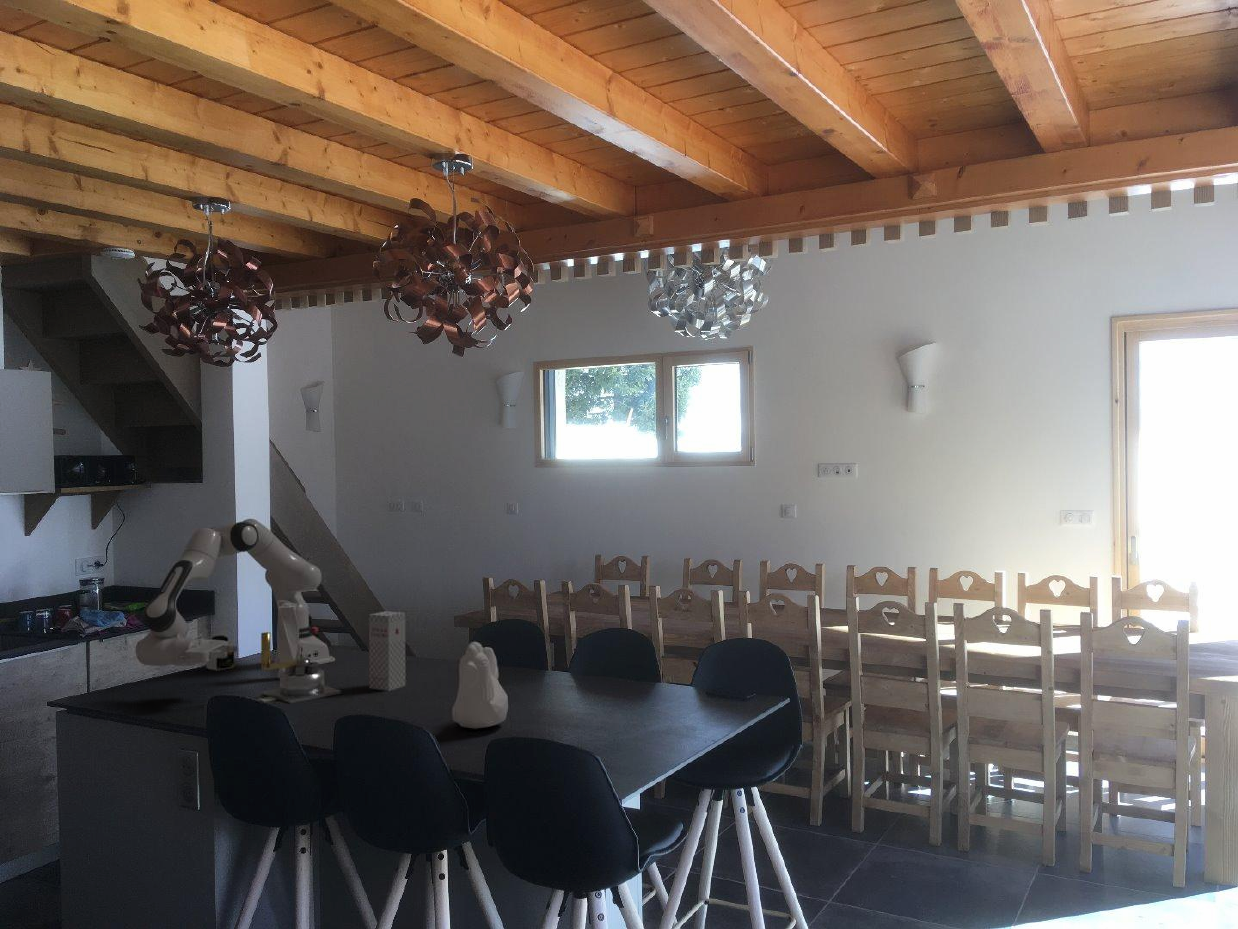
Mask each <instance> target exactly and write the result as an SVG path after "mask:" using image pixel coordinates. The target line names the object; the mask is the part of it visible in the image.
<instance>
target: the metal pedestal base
mask: <svg viewBox="0 0 1238 929" xmlns="http://www.w3.org/2000/svg"><path fill="white" fill-rule="evenodd" d="M262 692H263V695H264V696H266V697H272V698H275V699H276V700H280V701H283V702H284V703H289V704H294V703H298V702H299V703H300V702H304V701H310V700H315V699H320V698H325V697H330V696H331V697H332V696H335V695H340V694H342V691H341V689H338V688H333V687H330V686H327V685H325V670H324V669H320V668H319V670H318V672H316V673H313V674H309V673H305V675H295V673H294V674H291V675H288V674H286V673H285V671H284V672H282V673H280V679H279V688H275V689H269V690H263V691H262Z"/></svg>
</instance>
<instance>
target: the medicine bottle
mask: <svg viewBox="0 0 1238 929" xmlns="http://www.w3.org/2000/svg"><path fill="white" fill-rule="evenodd" d="M211 640H224V641H227V642H228V645H230V637H229V636H227V635H214V636H212V637H211ZM234 668H235V652H227V657H225V658H215V659H212V660H210V661H208V662H206V669H209V670H211V671H215V672H217V671H222V670H223V671H224V670H228V669H234Z"/></svg>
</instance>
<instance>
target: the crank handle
mask: <svg viewBox="0 0 1238 929" xmlns="http://www.w3.org/2000/svg"><path fill="white" fill-rule="evenodd" d="M260 642H261V643H260V644H261V647H260V649H261V650H260V652H261V660H260V661H261V670H262V671H269V670H270V671H271V670H279V668H285V673H286V674H288V675H291V674H294V673H295V675H305V673H309V674H313V673H316V672H318V670H319V669H320V668H319V667H320V666H319V665H320V664H319V663H317V662H310V659H308V658H300V659H295V660H292V661H284V662H277V663H274V662H271V660H272V659H271V654H272V653H271V632H270V631H269V632H261V633H260Z"/></svg>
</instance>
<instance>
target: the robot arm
mask: <svg viewBox="0 0 1238 929" xmlns="http://www.w3.org/2000/svg"><path fill="white" fill-rule="evenodd" d="M245 552H247V553H248V555H250V557H251V558H252V559H253V560H255V562H257V563H258V564H259V566H261V568H263V569H265V572H264V573H265V575H264V578H265V582H266V583H267V585H268V586H269V588H271V590H272V592H273V595H274V599H275V603H276V607H277V608H276V609H277V620H278V619H279V614H280V611H279V607H278V604H277V601H280V600H284V601H288V602H290V603H295V604H297V607H296V610H295V612H296V616H297V620H298V626H299V643H298V650H297V655H296V659H300V654H301V647H302V642H303V654H304V658H308V659H310V662H317V663H319V665H324V664H328V663H332V662H335V661H336V658H335V657H334V656H333V655H330V651H329V648H328V645H327V643H325V642H324V641H322V640H321V639H319V638H318V637H316V636H315V635H314V633H315V634H316V633H318V632H319V628H318V627H316V626H310V624H309V623H310V622H309V620H310V619H309V616H310V615H309V614H310V613H309V611H310V610H309V609H310V608H309V604H308V603H307V602H306V601H305V599H304V598H303V594H302V593H304V592H305V593H306V592H310V591H314V590H316V589H317V588H318V587H319V586H320V584H321V582H322V576H323V575H322V571H321V570H320V568H319V567H318V566H316V565H314V564H312V563H310V562H308V561H307V560H305V559H304V558H303V557H301V556H300V555H299V554H297V553H296V552H294V551H292V550H291V549H290V548H289V547H287V546H286V545H285V544H284V543H283V542H282V541H281V540H280V539H279V538H278V537H277V536H276V535H275V534H274V533H273V532H272V531H271V530H270V529H269V528H267V527H266V526H265V524H262V523H261V522H259V521H258V520H257V519H254V518H247V519H244V520H243V521H239V522H230V523H225V524H222V525H219V526H215V527H211V528H209V527H201V528H199V529H197V530H196V531H195V532H194V533H193V534H192V536H191V537H190V538H189V541H188V542H187V543H186V545H185V547H184V549H183V552H182V553H181V556H180V558H179V560H178V561H177V562H176V563H175V564H174V565H173V566H172V567H171V569H170V571H169V572H168V574H167V575H166V577H165V579H163V580H164V581H163V582H162V584H161V586H160V588H159V589H158V591H157V593H156V594H155V596H154V597H152V599H151V600H150V601H149V602H148V603H147V604H146V606H145V607H144V609H143V610H142V613H141V621H142V623H143V625H144V626H145V627H146V628H147V629H149V630H150V631H149V632H148V633H147V635H145V636H144V637H143V638H142V639H140V640H139V641H137V643H136V644H135V655H136V656H135V657H136V659H137V660H138V662H140V664H142V665H146V666H150V667H151V666H153V667H154V666H155V667H166V666H170V665H171V666H172V665H173V666H177V667H193V666H195V665H196V664H205V663H206V664H207V662H208V661H210V660H212V659H215V658H225V657H227V652H234V653H236V652H238V651H239V645H232V644H229V645H228V642H227V641H224V640H212V639H205V638H204V637H187V636H186V635H187V634H188V630H189V628H188V627H189V625H188V623H187V621H186V620H185V618H184V617H183V616H182V615H181V614H180V612H179V611H178V609H177V600H178V598H179V597H180V594H181V593H182V592H183V589H184V587H185V586H186V584H187V583H200V582H204V581H206V580H207V579H208V578H209V577H210V576H211V574H212V572H213V570H214V568H215V566H216V563H217V560H218V558H219V557H226V556H227V557H228V556H233V555H236V554H239V553H245ZM278 603H279V606H280V607H281V606H282V604H283V603H287V602H278ZM292 605H294V604H292ZM276 647H277V648H276V655H275V658H274V662H273V663H277V662H280V658H279V653H278V646H276Z"/></svg>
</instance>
